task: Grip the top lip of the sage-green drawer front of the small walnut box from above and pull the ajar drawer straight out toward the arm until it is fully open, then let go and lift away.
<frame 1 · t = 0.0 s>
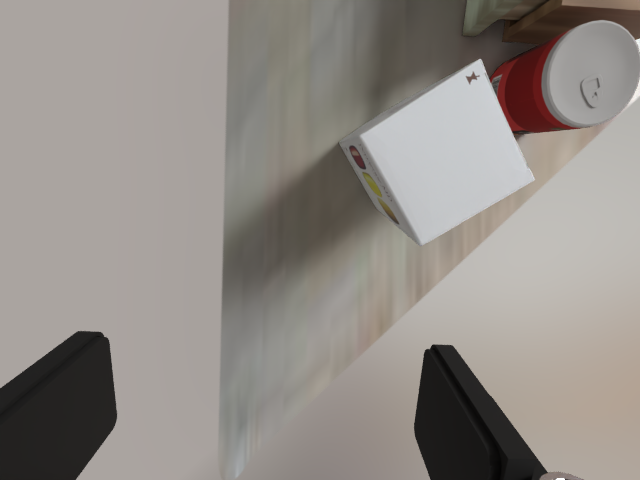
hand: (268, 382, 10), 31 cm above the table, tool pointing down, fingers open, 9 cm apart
supplement box: (392, 156, 39), on the table
canned food: (514, 98, 38), on the table
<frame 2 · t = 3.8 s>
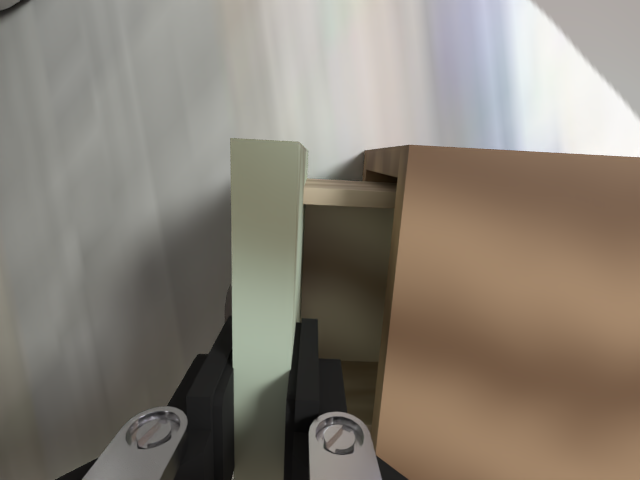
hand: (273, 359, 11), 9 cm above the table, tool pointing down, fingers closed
cabinet: (454, 275, 21), on the table
drawer: (389, 320, 14), point 6 cm above the table, slide at 3.0 cm, touching gripper
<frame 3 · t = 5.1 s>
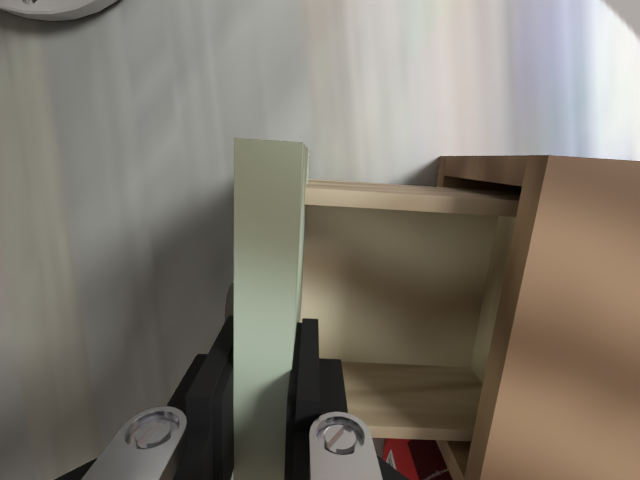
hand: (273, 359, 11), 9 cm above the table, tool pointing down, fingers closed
canned food: (433, 446, 24), on the table
cabinet: (521, 281, 21), on the table
drawer: (389, 321, 14), point 6 cm above the table, slide at 7.1 cm, touching gripper
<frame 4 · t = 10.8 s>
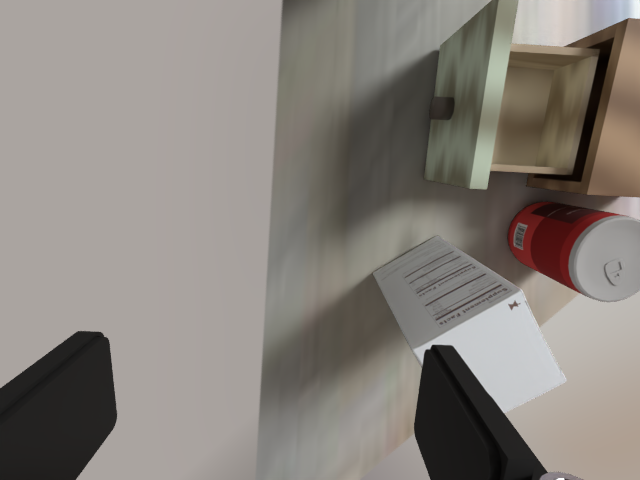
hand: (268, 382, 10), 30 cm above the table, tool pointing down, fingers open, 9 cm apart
supplement box: (421, 283, 42), on the table
canned food: (536, 233, 41), on the table
cabinet: (591, 125, 38), on the table
drawer: (508, 111, 31), point 6 cm above the table, slide at 10.5 cm
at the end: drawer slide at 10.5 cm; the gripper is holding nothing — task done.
